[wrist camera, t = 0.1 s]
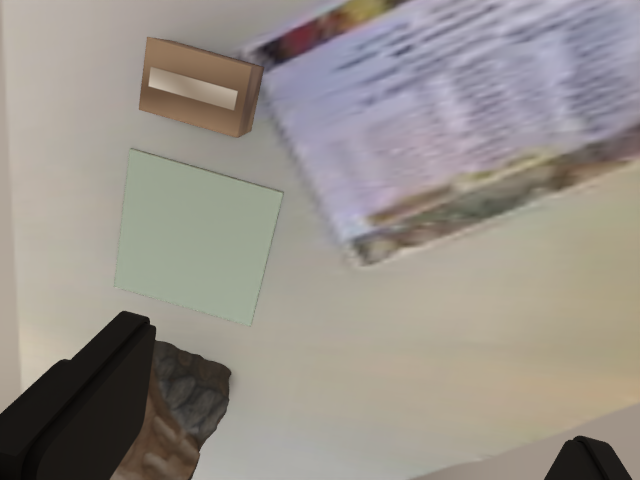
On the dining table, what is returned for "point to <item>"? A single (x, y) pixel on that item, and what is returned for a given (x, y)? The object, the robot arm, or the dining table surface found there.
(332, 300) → the dining table surface
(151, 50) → the cardboard box
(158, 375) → the brown rock
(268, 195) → the mat
